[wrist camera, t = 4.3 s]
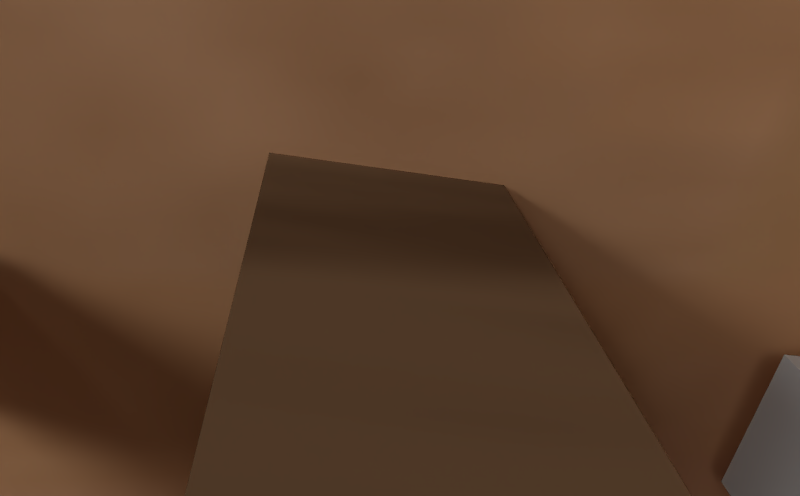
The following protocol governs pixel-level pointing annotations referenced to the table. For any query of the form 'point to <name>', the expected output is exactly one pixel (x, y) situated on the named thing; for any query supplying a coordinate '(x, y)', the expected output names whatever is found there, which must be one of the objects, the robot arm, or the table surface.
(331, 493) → the brown rectangular block
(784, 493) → the robot arm
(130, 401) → the table surface
